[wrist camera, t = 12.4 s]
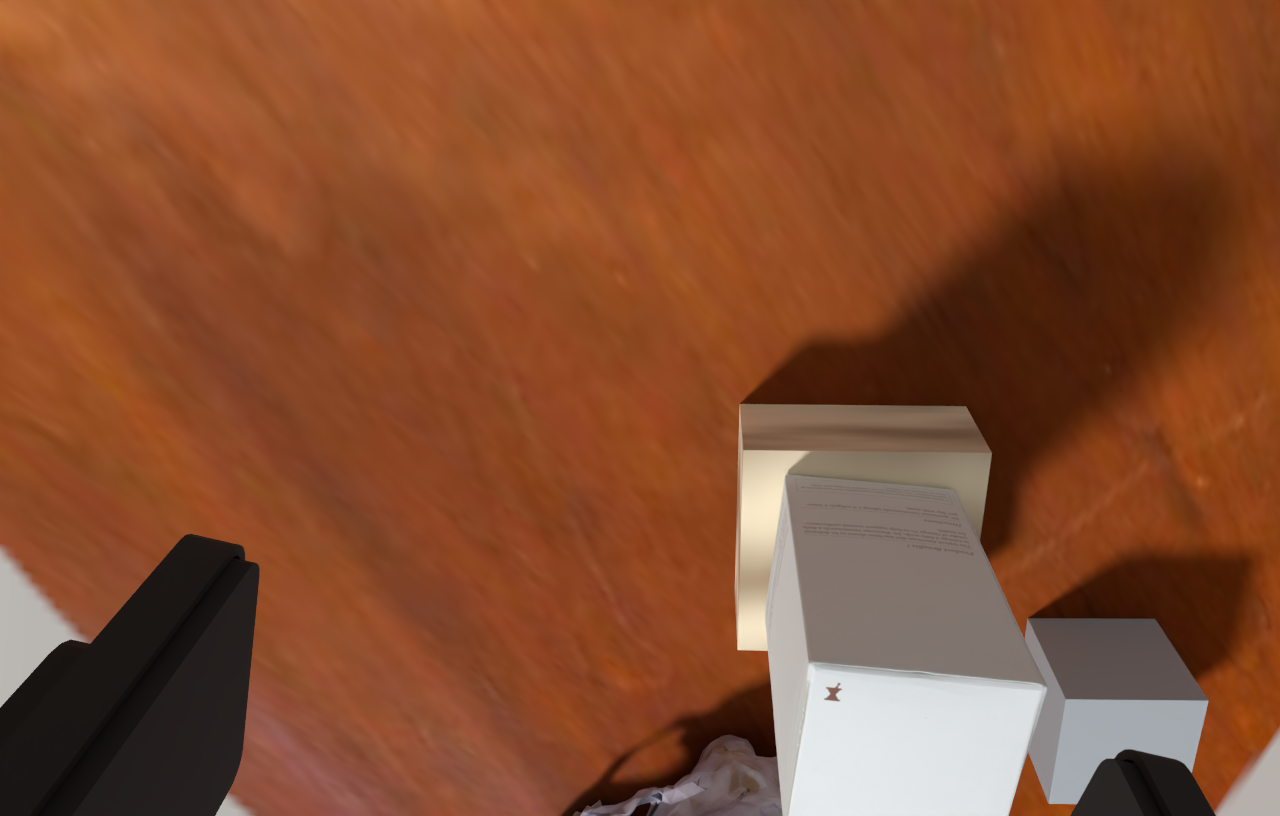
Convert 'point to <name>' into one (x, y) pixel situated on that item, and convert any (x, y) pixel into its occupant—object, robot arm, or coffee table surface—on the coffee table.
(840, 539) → the supplement box
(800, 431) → the maple block
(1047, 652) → the slate block
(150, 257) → the coffee table surface
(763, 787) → the skull
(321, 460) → the coffee table surface
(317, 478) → the coffee table surface
